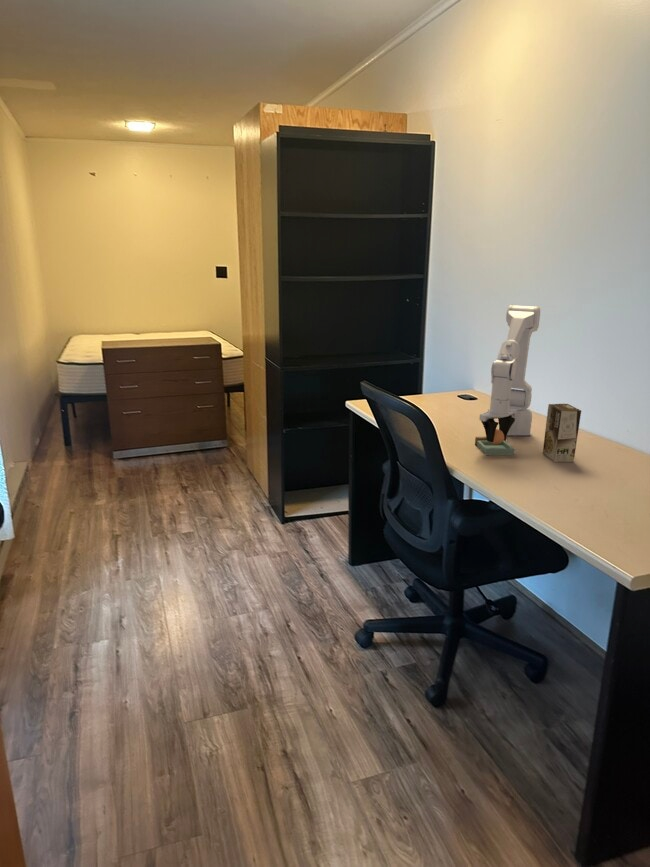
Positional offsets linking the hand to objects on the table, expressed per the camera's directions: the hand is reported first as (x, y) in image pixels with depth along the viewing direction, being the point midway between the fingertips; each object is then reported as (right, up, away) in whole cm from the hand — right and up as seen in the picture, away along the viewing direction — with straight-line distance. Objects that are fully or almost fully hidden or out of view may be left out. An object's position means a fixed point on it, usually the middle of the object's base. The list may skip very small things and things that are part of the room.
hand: (496, 440), depth 188 cm
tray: (0, -3, +1) cm, 3 cm away
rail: (0, -1, +7) cm, 7 cm away
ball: (0, -1, +1) cm, 2 cm away
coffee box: (+18, -5, -4) cm, 19 cm away
